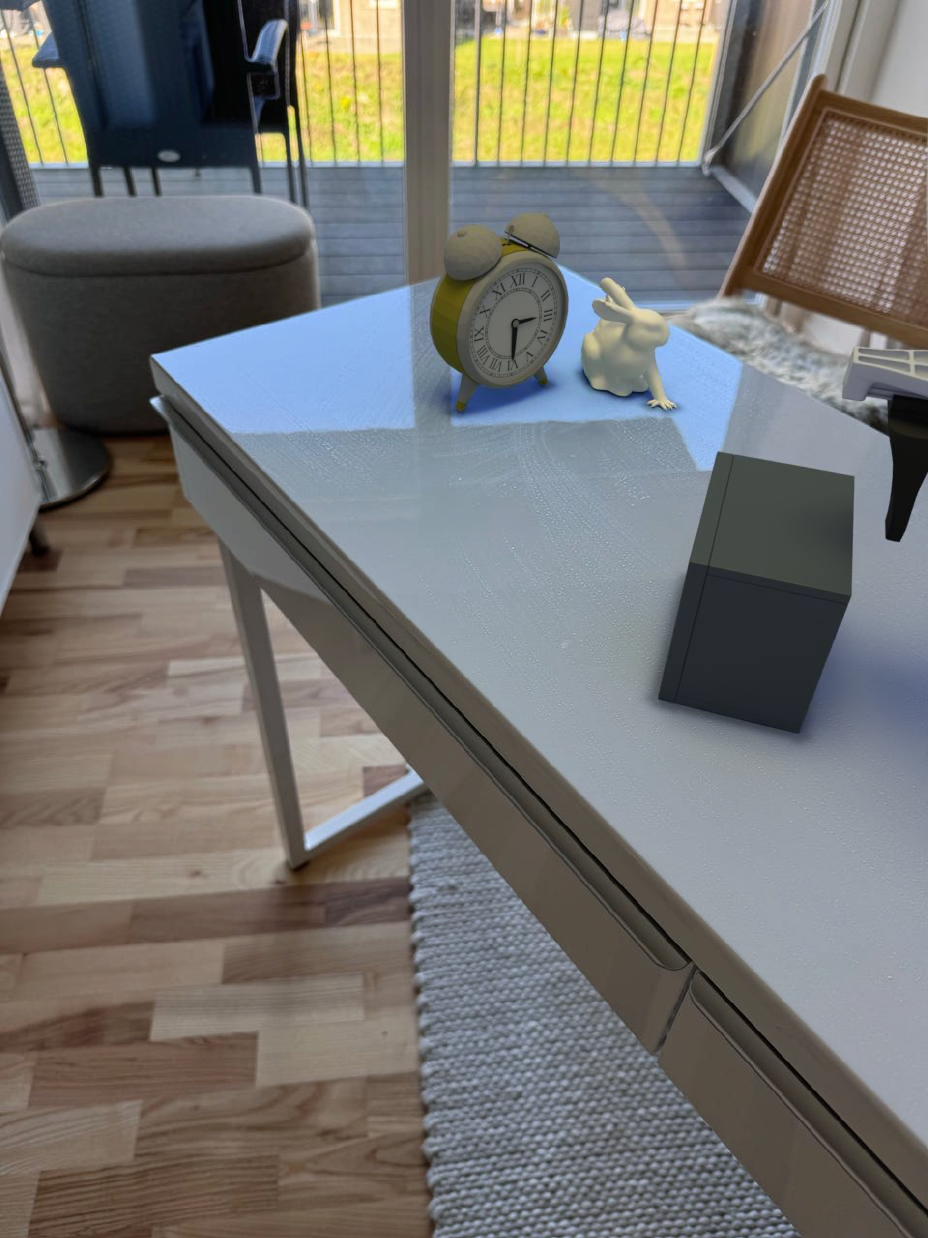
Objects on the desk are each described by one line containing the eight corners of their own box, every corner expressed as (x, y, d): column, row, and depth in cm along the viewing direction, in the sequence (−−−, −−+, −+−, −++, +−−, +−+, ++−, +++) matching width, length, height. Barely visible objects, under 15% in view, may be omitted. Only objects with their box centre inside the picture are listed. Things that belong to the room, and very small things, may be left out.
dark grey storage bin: (809, 606, 60) (854, 475, 54) (799, 733, 52) (851, 595, 45) (687, 580, 62) (717, 450, 56) (657, 698, 53) (689, 561, 47)
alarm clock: (460, 422, 78) (464, 241, 69) (415, 391, 82) (414, 217, 73) (563, 388, 84) (581, 216, 74) (517, 361, 88) (528, 195, 78)
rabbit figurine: (677, 410, 81) (698, 302, 75) (599, 421, 79) (614, 311, 73) (619, 354, 90) (633, 253, 83) (547, 362, 88) (557, 260, 81)
